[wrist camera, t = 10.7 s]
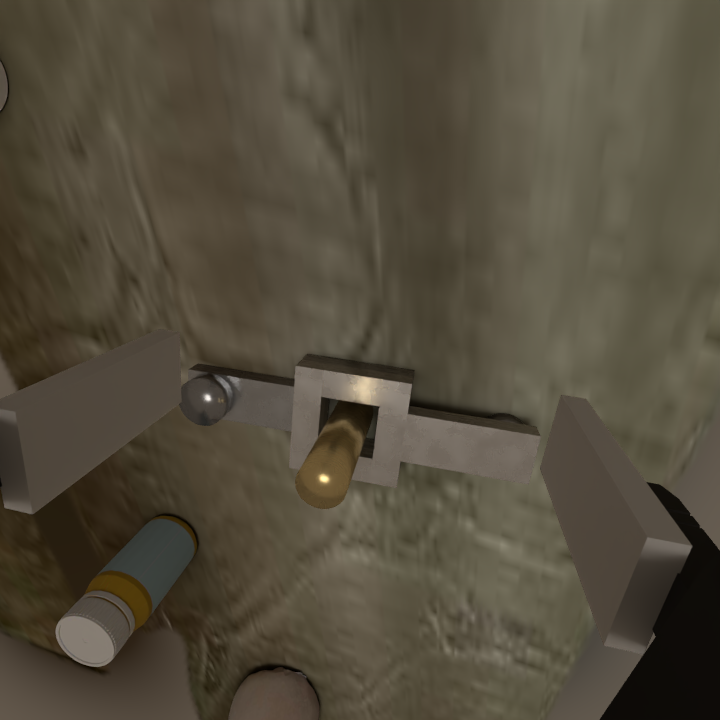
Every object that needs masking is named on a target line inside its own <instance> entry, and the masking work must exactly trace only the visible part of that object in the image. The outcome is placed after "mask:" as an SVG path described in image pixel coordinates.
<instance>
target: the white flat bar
mask: <svg viewBox="0 0 720 720" xmlns="http://www.w3.org/2000/svg"><path fill="white" fill-rule="evenodd" d="M414 371H415V370H409V369H403V368H396V367H390V366H383V365H377V364H370V363H364V362H357V361H351V360H344V359H338V358H331V357H325V356H318V355H312V354H307V355H306V356H305V357H304V358H303V359H302V360H301V361H300V362H299V363H298V364H297V365H296V367H295V379H289V378H283V377H277V376H271V375H265V374H258V373H252V372H246V371H240V370H234V369H227V368H221V367H215V366H209V365H203V364H197V365H195V366H193V367H192V368H190V369H188V378H189V381H188V382H187V383H185V384H184V385H183V386H182V388H181V399H182V402H181V403H180V404H179V406H180V408H181V410H182V412H183V414H184V415H185V416H186V417H187V418H188V419H189V420H190V421H192V422H194V423H196V424H198V425H204V426H208V425H213V424H215V423H217V422H218V421H219V420H220V419H224V420H229V421H235V422H241V423H246V424H252V425H257V426H263V427H269V428H274V429H280V430H286V431H291V447H290V463H289V468H294V469H299V470H300V468H301V466H302V465H303V463H304V461H305V459H306V458H307V456H308V454H309V452H310V451H311V449H312V447H313V445H314V443H315V442H316V440H317V438H318V436H319V435H320V433H321V431H322V429H323V428H324V426H325V424H326V422H327V420H328V409H329V398H332V399H338V400H344V401H350V402H356V403H362V404H368V405H374V406H379V413H378V420H377V428H376V436H375V439H369V438H365V441H364V444H363V447H362V450H361V453H360V456H359V458H358V461H357V464H356V467H355V470H354V473H353V476H352V480H357V481H363V482H368V483H373V484H378V485H384V486H389V487H394V488H397V482H398V476H399V470H400V464H401V461H402V462H408V463H413V464H419V465H424V466H430V467H435V468H441V469H446V470H452V471H457V472H463V473H468V474H474V475H480V476H485V477H491V478H496V479H502V480H507V481H513V482H518V483H524V484H529V481H530V477H531V473H532V469H533V465H534V461H535V457H536V454H537V450H538V446H539V442H540V438H541V435H540V433H539V431H538V429H537V427H535V426H529V425H524V424H523V423H522V421H521V420H519V419H518V418H517V417H515V416H513V415H510V414H505V413H498V414H493V415H491V416H488V417H487V418H480V417H474V416H468V415H462V414H456V413H450V412H444V411H438V410H432V409H426V408H420V407H413V406H409V404H410V397H411V391H412V384H413V377H414Z"/></svg>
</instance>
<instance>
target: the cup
mask: <svg viewBox="0 0 720 720" xmlns="http://www.w3.org/2000/svg"><path fill="white" fill-rule="evenodd" d="M7 93H8V83H7V77H6V73H5V70H4V67H3V65H2V63H1V61H0V111H1V109H2V108H3V106H4V104H5V102H6V99H7Z"/></svg>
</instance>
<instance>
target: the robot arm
mask: <svg viewBox="0 0 720 720" xmlns="http://www.w3.org/2000/svg"><path fill="white" fill-rule="evenodd" d="M181 402H182V399H181V365H180V332H175V331H169V330H163V329H158V330H156V331H154V332H152V333H149V334H147V335H145V336H142V337H140V338H138V339H136V340H133V341H131V342H129V343H127V344H124V345H122V346H120V347H117V348H115V349H113V350H111V351H108V352H106V353H104V354H102V355H99V356H97V357H95V358H92V359H90V360H88V361H86V362H83V363H81V364H79V365H77V366H74V367H72V368H70V369H67V370H65V371H63V372H61V373H58V374H56V375H54V376H52V377H49V378H47V379H45V380H42V381H40V382H38V383H36V384H33V385H31V386H29V387H27V388H24V389H22V390H20V391H17V392H15V393H13V394H11V395H9V396H6V397H4V398H2V399H0V487H1V491H2V496H3V501H4V507H5V508H8V509H12V510H16V511H21V512H25V513H29V514H34V513H35V512H36V511H38V510H39V509H40V508H42V507H43V506H44V505H45V504H47V503H48V502H50V501H51V500H52V499H54V498H55V497H56V496H58V495H59V494H60V493H62V492H63V491H64V490H66V489H67V488H68V487H69V486H71V485H72V484H73V483H75V482H76V481H77V480H79V479H80V478H81V477H83V476H84V475H85V474H87V473H88V472H89V471H91V470H92V469H93V468H95V467H96V466H97V465H99V464H100V463H101V462H103V461H104V460H105V459H107V458H108V457H109V456H111V455H112V454H113V453H115V452H116V451H117V450H119V449H120V448H121V447H123V446H124V445H125V444H127V443H128V442H129V441H130V440H132V439H133V438H134V437H136V436H137V435H138V434H140V433H141V432H142V431H144V430H145V429H146V428H148V427H149V426H150V425H152V424H153V423H154V422H156V421H157V420H158V419H160V418H161V417H162V416H164V415H165V414H166V413H168V412H169V411H170V410H172V409H173V408H174V407H176V406H177V405H178V404H180V403H181ZM540 470H541V473H542V475H543V478H544V481H545V484H546V486H547V489H548V492H549V495H550V498H551V500H552V503H553V506H554V509H555V511H556V514H557V517H558V520H559V523H560V525H561V528H562V531H563V534H564V537H565V539H566V542H567V545H568V548H569V550H570V553H571V556H572V559H573V562H574V564H575V567H576V570H577V573H578V575H579V578H580V581H581V584H582V587H583V589H584V592H585V595H586V598H587V601H588V603H589V606H590V609H591V612H592V614H593V617H594V620H595V623H596V626H597V628H598V631H599V634H600V636H601V639H602V642H603V645H604V646H608V647H613V648H617V649H622V650H626V651H630V652H635V653H639V654H644V652H645V650H646V648H647V645H648V643H649V641H650V639H651V637H652V634H653V632H654V634H655V636H656V637H655V639H654V640H653V642H652V643H651V645H650V646H649V648H648V649H647V651H646V652H645V654H644V655H643V656H642V658H641V659H640V661H639V662H638V664H637V665H636V667H635V668H634V670H633V671H632V673H631V674H630V676H629V677H628V679H627V680H626V682H625V683H624V684H623V686H622V688H621V689H620V690H619V692H618V693H617V695H616V696H615V698H614V699H613V701H612V702H611V704H610V705H609V707H608V708H607V709H606V711H605V712H604V714H603V715H602V717H601V718H600V720H720V550H719V549H718V548H717V546H716V545H715V544H714V543H713V541H712V540H711V539H710V538H709V536H708V535H707V534H706V533H705V532H704V530H703V529H702V528H700V525H699V524H698V522H697V521H696V520H695V519H694V518H693V516H690V512H689V511H688V510H687V509H686V508H685V506H684V505H683V504H682V502H681V501H680V500H679V499H678V498H677V497H676V496H674V495H673V494H672V493H670V492H669V491H668V490H666V489H665V488H664V487H662V486H661V485H659V484H654V483H648V482H646V481H645V480H644V478H643V477H642V476H641V474H640V473H639V471H638V470H637V469H636V467H635V466H634V465H633V463H632V462H631V460H630V459H629V458H628V456H627V455H626V453H625V452H624V451H623V449H622V448H621V447H620V445H619V444H618V442H617V441H616V440H615V438H614V437H613V435H612V434H611V433H610V431H609V430H608V429H607V427H606V426H605V424H604V423H603V422H602V420H601V419H600V417H599V416H598V415H597V413H596V412H595V411H594V409H593V408H592V406H591V405H590V404H589V402H588V401H587V400H586V399H583V398H577V397H571V396H565V395H561V397H560V400H559V404H558V407H557V411H556V414H555V418H554V421H553V425H552V428H551V432H550V435H549V439H548V442H547V446H546V449H545V453H544V456H543V460H542V463H541V467H540Z"/></svg>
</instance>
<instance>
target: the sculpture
mask: <svg viewBox="0 0 720 720" xmlns="http://www.w3.org/2000/svg"><path fill="white" fill-rule="evenodd" d="M302 674H303V673H302V672H293V671H290V670H285V669H284V668H283V667H278V668H276V669H274V670H263V671H259V672H257V673H254V674H251V675H249V676H248V677H247V678H246V679H245V680H244V681H243V683H242V684H241V685H240V687H239V688H238V690H237V692H236V695H235V697H234V699H233V702H232V706H231V710H230V714H229V719H228V720H319V708H320V707H319V702H318V700H317V696H316V694H315V691H314V689H313V688H312V687H311V686H310V685H309V683H308V682H307V680H306V676H304V675H302Z"/></svg>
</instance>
